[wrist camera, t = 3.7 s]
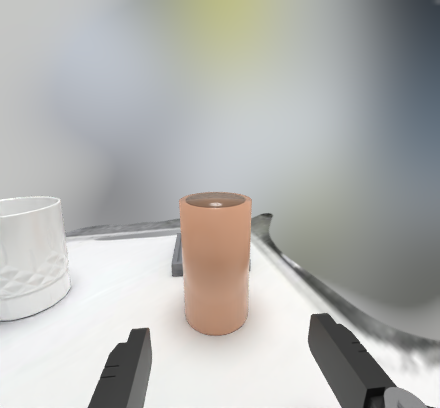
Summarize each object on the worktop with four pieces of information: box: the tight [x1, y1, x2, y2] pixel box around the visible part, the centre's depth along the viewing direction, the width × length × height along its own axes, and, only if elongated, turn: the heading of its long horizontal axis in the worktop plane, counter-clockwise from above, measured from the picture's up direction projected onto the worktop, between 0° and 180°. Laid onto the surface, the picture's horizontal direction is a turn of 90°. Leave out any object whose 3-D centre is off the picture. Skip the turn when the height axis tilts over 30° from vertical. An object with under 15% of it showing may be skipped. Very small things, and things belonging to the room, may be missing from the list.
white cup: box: [0, 196, 71, 321], centre depth 22 cm, size 8×8×10 cm
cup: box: [179, 192, 252, 336], centre depth 20 cm, size 6×6×11 cm
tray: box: [172, 233, 250, 276], centre depth 32 cm, size 10×10×2 cm
